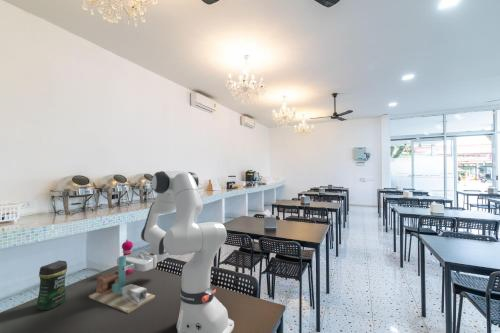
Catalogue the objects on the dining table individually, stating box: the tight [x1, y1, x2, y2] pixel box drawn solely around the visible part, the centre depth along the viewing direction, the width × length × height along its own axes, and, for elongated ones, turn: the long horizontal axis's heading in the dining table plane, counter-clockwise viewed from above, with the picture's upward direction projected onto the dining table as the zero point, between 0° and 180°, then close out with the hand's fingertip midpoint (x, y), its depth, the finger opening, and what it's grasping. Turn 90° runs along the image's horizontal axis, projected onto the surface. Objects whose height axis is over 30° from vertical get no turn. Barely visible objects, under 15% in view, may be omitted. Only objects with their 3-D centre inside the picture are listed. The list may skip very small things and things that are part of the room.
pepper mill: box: [121, 238, 134, 276], centre depth 139 cm, size 7×7×20 cm
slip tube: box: [112, 255, 141, 297], centre depth 109 cm, size 17×3×16 cm, turn 64°
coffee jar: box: [36, 260, 68, 311], centre depth 104 cm, size 10×8×19 cm
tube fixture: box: [88, 271, 156, 314], centre depth 110 cm, size 28×14×8 cm, turn 64°
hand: (120, 268), depth 110 cm, fingers closed on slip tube, 3 cm apart
